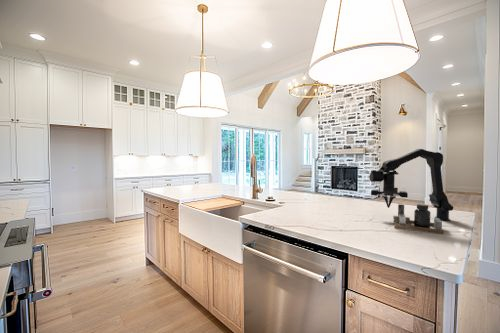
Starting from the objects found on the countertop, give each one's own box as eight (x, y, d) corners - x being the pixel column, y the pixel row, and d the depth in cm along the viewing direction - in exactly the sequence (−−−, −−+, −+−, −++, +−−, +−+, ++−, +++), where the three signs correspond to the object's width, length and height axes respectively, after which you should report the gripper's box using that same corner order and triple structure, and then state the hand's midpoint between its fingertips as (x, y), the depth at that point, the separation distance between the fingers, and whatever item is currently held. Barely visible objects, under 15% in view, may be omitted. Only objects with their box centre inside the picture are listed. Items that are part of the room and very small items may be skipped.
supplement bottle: (432, 230, 120) (433, 206, 119) (417, 229, 121) (418, 206, 121) (425, 226, 126) (426, 203, 126) (411, 225, 128) (412, 203, 127)
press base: (393, 218, 143) (393, 210, 143) (435, 222, 133) (435, 213, 133) (394, 228, 124) (394, 218, 124) (443, 234, 114) (443, 223, 114)
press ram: (397, 218, 142) (398, 204, 141) (403, 218, 140) (404, 204, 140) (399, 226, 126) (399, 210, 125) (406, 227, 124) (406, 211, 124)
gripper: (370, 182, 140) (370, 208, 140) (408, 184, 130) (408, 212, 131) (371, 180, 149) (371, 205, 150) (407, 182, 140) (406, 208, 141)
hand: (388, 207), depth 143 cm, fingers closed
